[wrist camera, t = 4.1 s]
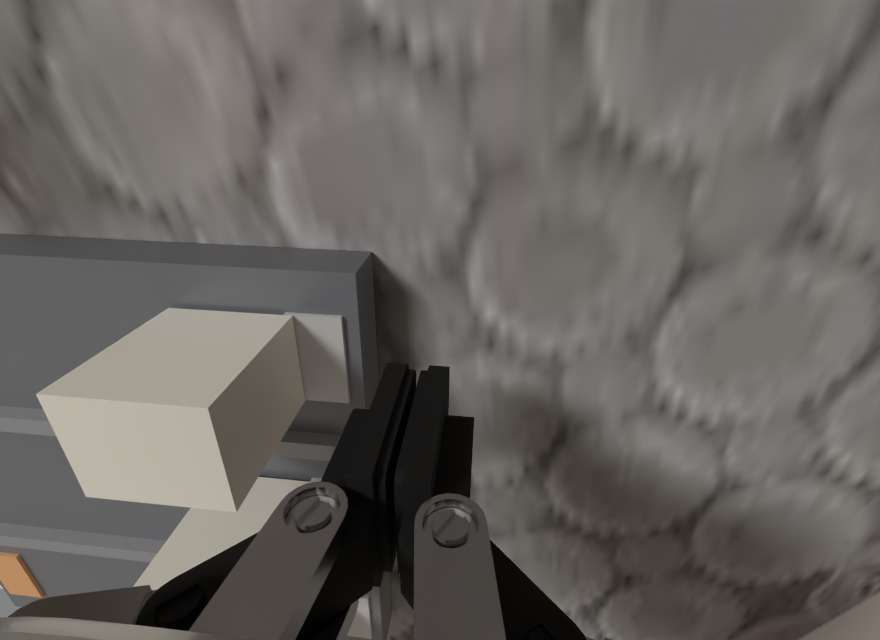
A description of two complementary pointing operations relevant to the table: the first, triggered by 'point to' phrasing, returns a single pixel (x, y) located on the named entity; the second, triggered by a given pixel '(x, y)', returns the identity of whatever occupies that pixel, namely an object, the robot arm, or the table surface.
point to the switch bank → (116, 315)
